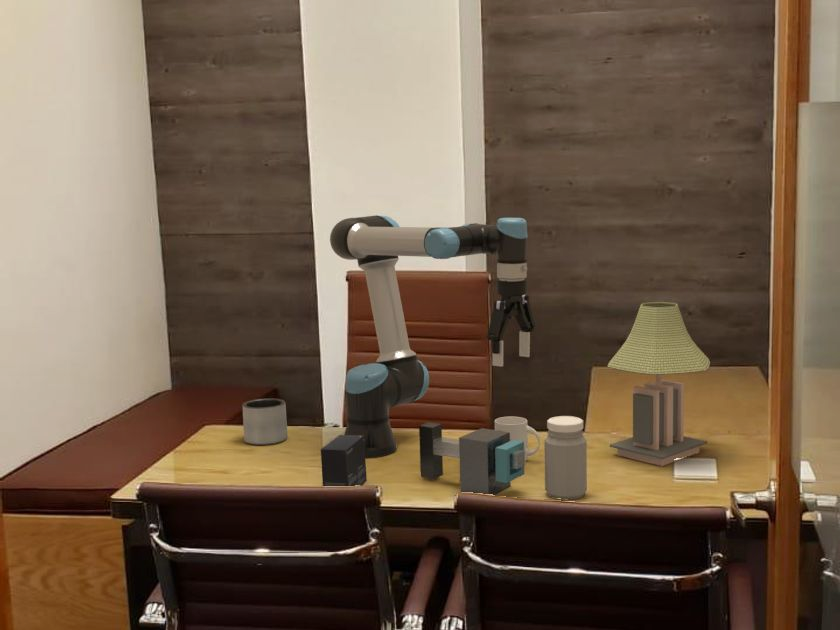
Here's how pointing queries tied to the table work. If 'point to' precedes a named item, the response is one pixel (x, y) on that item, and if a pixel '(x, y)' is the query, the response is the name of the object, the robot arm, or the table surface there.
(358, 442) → the small box
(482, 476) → the block
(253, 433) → the planter
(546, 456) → the jar
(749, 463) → the table surface
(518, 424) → the mug
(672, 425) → the desk lamp
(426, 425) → the shaft
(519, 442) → the collar
